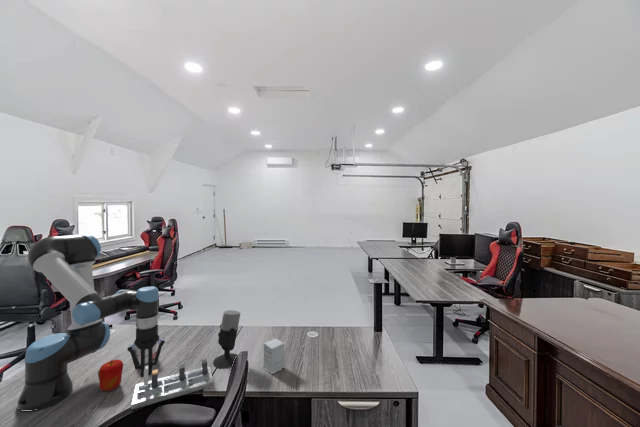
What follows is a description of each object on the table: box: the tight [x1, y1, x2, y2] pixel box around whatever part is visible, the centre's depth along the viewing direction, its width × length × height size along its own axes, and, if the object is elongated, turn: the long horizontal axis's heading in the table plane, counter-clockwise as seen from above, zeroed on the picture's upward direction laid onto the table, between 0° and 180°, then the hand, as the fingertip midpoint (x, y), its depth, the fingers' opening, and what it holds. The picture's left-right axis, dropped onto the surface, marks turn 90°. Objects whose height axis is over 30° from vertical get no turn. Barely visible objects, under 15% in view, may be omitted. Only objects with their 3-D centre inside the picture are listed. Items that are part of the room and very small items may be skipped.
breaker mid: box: [178, 363, 186, 381], centre depth 112 cm, size 3×3×6 cm
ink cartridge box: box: [135, 342, 158, 365], centre depth 130 cm, size 9×5×15 cm, turn 168°
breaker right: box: [200, 358, 208, 375], centre depth 116 cm, size 3×3×6 cm
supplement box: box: [263, 338, 285, 373], centre depth 126 cm, size 7×7×13 cm
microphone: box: [212, 310, 241, 370], centre depth 131 cm, size 13×13×25 cm
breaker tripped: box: [150, 368, 159, 388], centre depth 107 cm, size 3×3×7 cm
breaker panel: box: [130, 365, 214, 410], centre depth 111 cm, size 29×13×4 cm, turn 119°
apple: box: [97, 359, 125, 392], centre depth 110 cm, size 9×8×12 cm
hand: (146, 383), depth 106 cm, fingers closed
